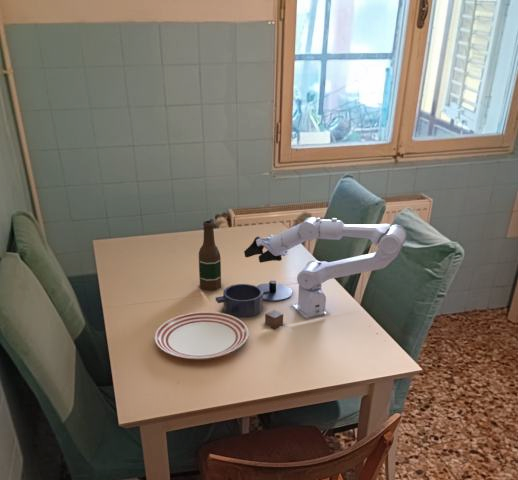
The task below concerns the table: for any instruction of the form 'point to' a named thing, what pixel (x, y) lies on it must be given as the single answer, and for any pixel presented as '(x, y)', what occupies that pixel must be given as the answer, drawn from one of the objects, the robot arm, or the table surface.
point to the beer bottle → (209, 260)
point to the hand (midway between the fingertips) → (252, 257)
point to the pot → (243, 300)
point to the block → (274, 319)
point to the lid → (276, 291)
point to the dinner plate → (201, 335)
